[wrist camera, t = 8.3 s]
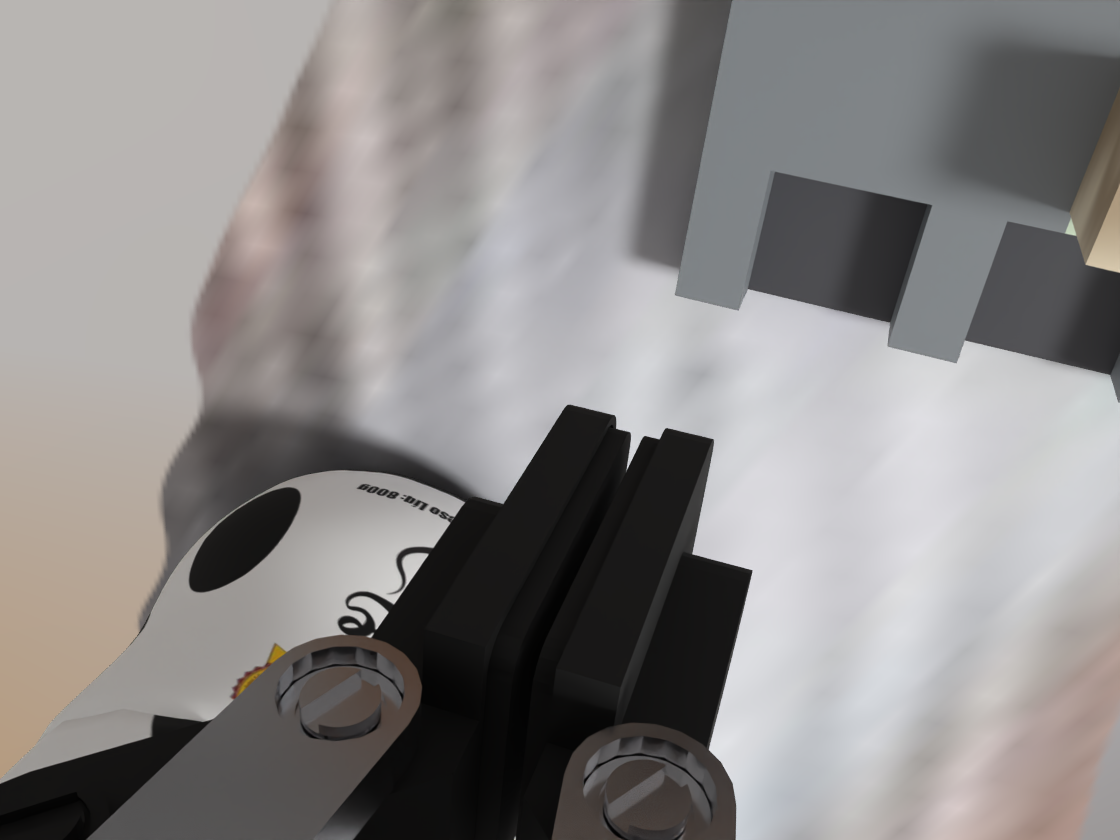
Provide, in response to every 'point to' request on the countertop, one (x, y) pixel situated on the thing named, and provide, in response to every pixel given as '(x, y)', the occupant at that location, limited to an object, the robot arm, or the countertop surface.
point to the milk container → (256, 603)
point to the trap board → (913, 170)
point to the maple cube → (1101, 199)
